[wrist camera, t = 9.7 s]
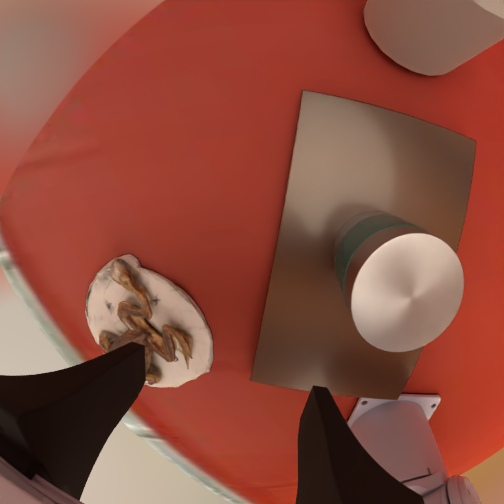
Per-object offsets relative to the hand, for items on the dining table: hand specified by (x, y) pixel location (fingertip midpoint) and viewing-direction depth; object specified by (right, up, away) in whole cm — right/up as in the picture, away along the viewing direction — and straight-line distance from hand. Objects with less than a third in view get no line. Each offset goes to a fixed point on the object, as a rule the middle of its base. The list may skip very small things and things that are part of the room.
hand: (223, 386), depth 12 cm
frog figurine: (-7, -1, +11) cm, 14 cm away
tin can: (+9, +5, +6) cm, 12 cm away
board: (+9, +5, +7) cm, 12 cm away
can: (+12, +21, +3) cm, 24 cm away
